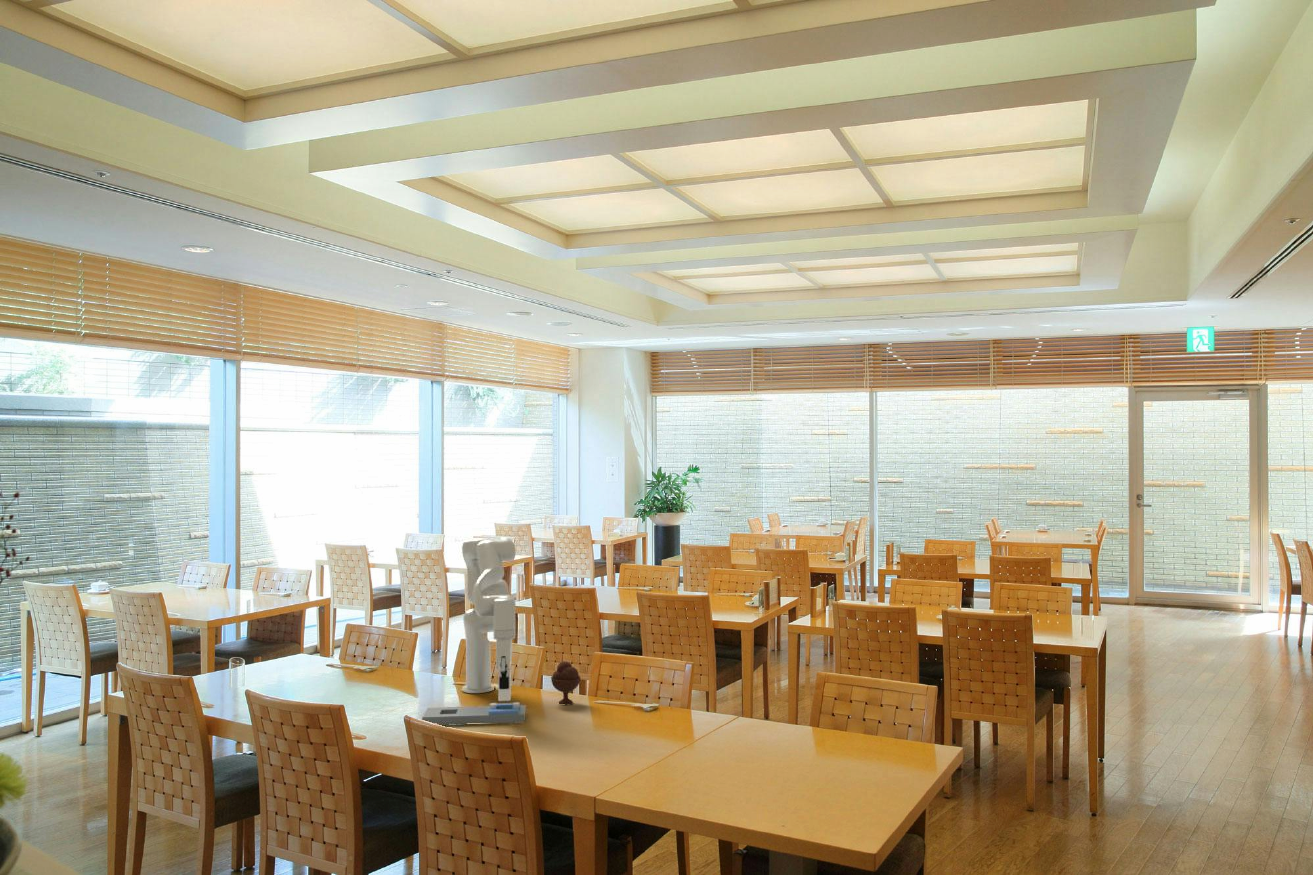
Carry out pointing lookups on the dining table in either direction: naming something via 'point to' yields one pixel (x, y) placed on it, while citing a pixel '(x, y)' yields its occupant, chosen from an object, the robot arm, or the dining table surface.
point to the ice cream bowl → (565, 680)
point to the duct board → (477, 714)
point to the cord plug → (504, 693)
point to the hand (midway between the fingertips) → (504, 686)
